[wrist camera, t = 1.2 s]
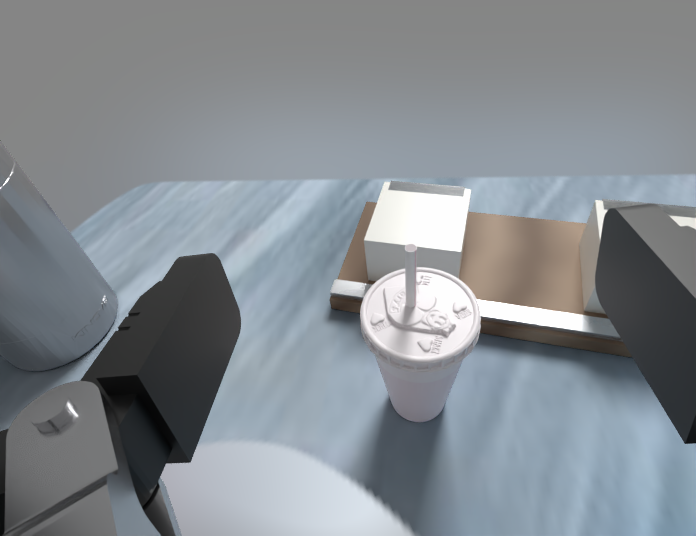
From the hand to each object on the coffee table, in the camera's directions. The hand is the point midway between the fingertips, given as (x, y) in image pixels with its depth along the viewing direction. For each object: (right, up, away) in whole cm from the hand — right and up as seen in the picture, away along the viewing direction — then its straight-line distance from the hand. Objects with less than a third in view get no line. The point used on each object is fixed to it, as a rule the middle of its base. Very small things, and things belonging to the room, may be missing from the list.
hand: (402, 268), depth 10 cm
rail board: (+13, -1, +28) cm, 30 cm away
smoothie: (+4, -9, +22) cm, 24 cm away
